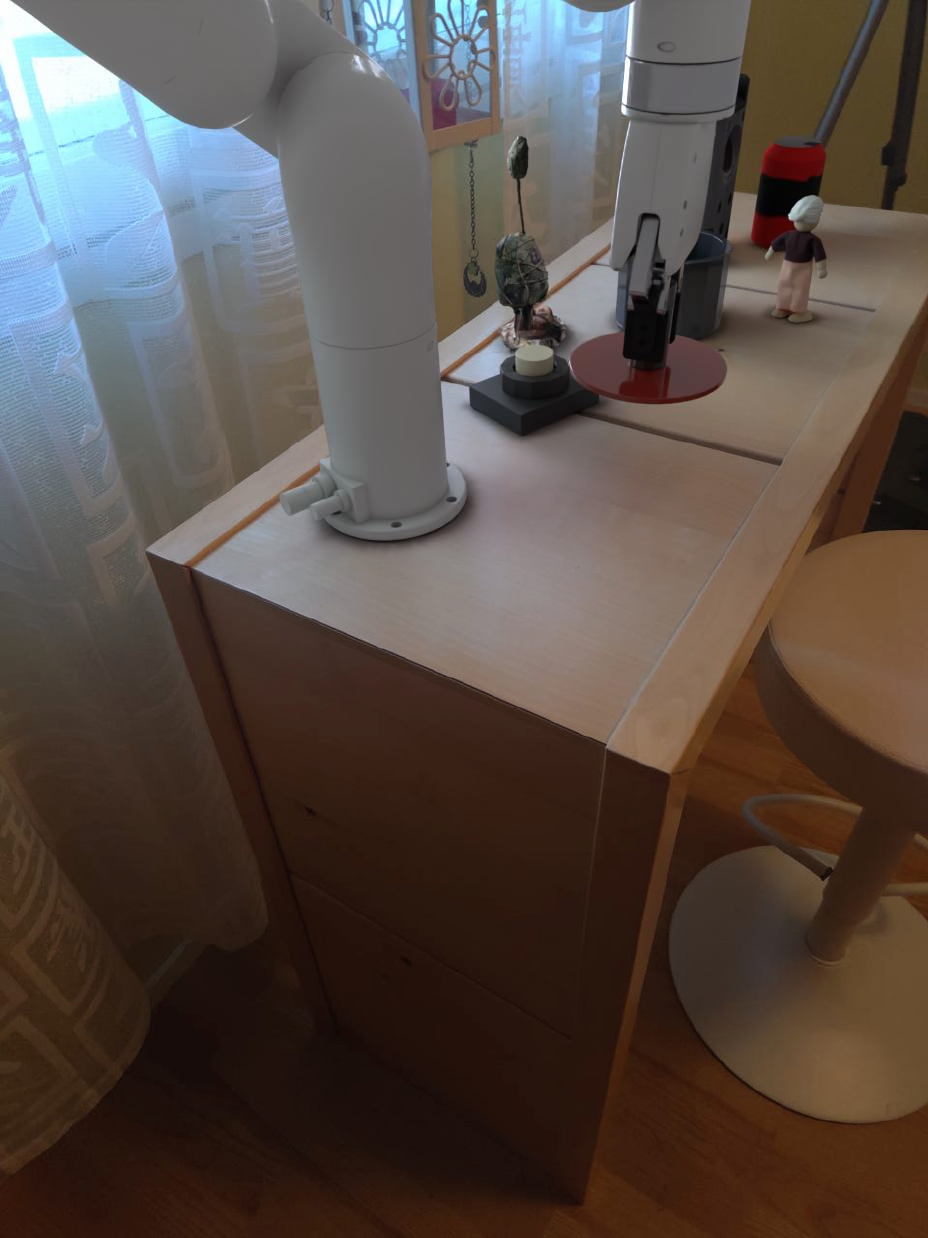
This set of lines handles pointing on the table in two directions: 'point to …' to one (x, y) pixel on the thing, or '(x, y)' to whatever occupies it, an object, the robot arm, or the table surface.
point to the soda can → (786, 184)
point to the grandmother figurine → (799, 260)
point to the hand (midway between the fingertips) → (649, 347)
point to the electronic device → (725, 164)
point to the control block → (530, 396)
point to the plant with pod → (524, 276)
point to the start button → (534, 360)
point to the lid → (649, 368)
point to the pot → (691, 287)
